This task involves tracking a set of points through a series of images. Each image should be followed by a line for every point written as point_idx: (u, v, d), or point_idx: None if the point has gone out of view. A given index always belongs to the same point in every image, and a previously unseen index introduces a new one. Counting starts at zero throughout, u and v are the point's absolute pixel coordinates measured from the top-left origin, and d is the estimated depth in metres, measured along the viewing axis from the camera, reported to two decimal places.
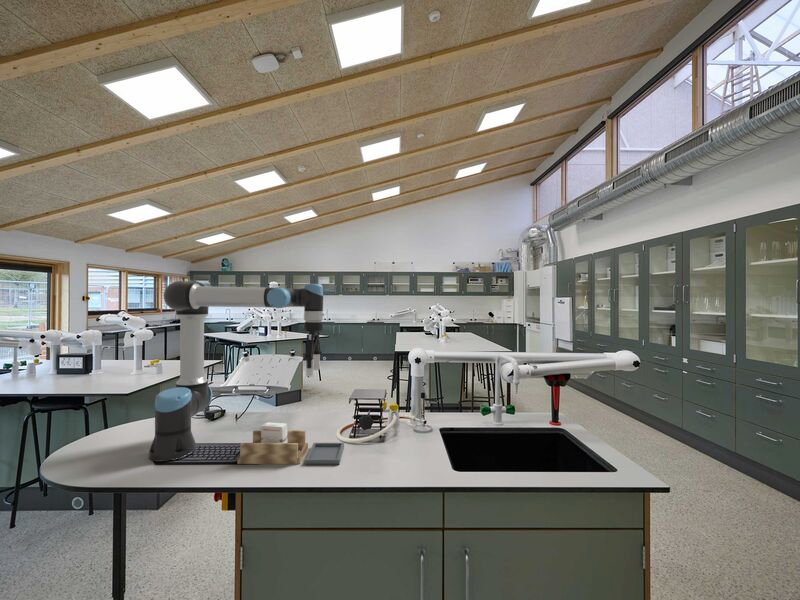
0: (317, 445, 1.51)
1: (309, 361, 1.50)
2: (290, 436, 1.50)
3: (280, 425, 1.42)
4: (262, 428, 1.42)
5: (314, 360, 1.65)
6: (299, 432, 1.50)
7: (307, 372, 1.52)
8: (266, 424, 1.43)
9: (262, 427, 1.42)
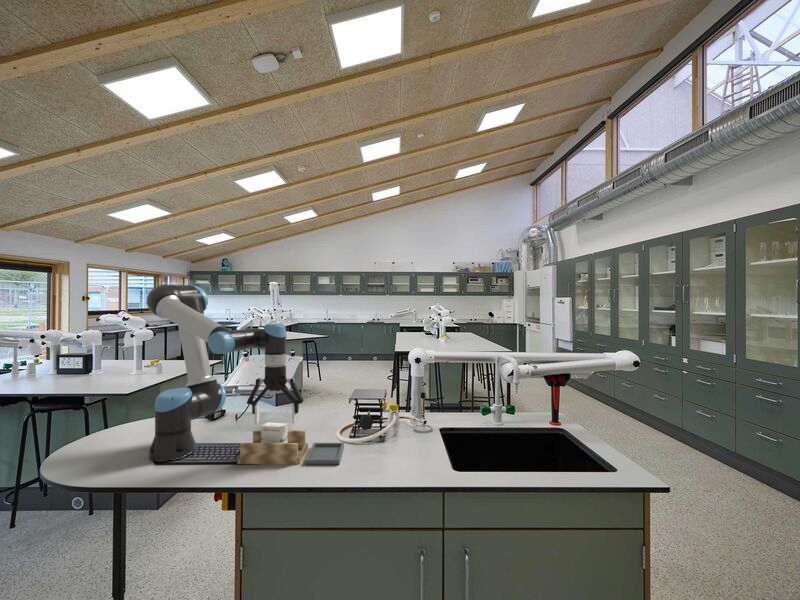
0: (317, 445, 1.51)
1: None
2: (290, 436, 1.50)
3: (280, 425, 1.42)
4: (262, 428, 1.42)
5: None
6: (299, 432, 1.50)
7: None
8: (266, 424, 1.43)
9: (262, 427, 1.42)
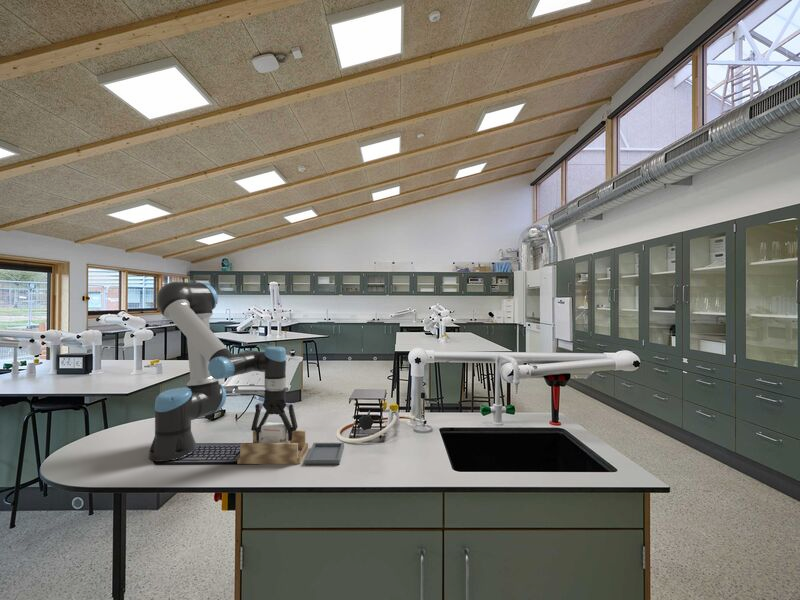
0: (317, 445, 1.51)
1: None
2: None
3: (280, 425, 1.42)
4: (262, 428, 1.42)
5: None
6: (299, 432, 1.50)
7: None
8: (266, 424, 1.43)
9: (262, 427, 1.42)
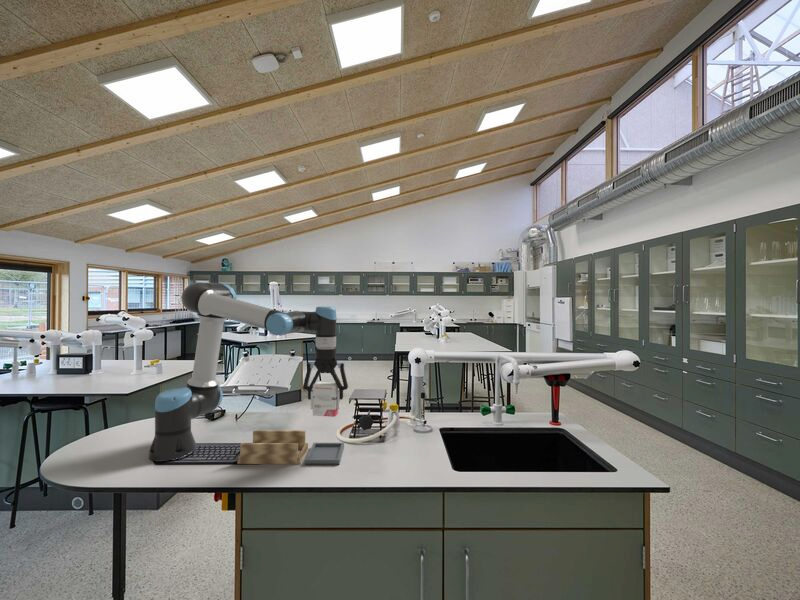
0: (317, 445, 1.51)
1: None
2: (290, 436, 1.50)
3: (332, 383, 1.43)
4: (314, 386, 1.42)
5: None
6: (299, 432, 1.50)
7: None
8: (317, 383, 1.44)
9: (314, 385, 1.42)
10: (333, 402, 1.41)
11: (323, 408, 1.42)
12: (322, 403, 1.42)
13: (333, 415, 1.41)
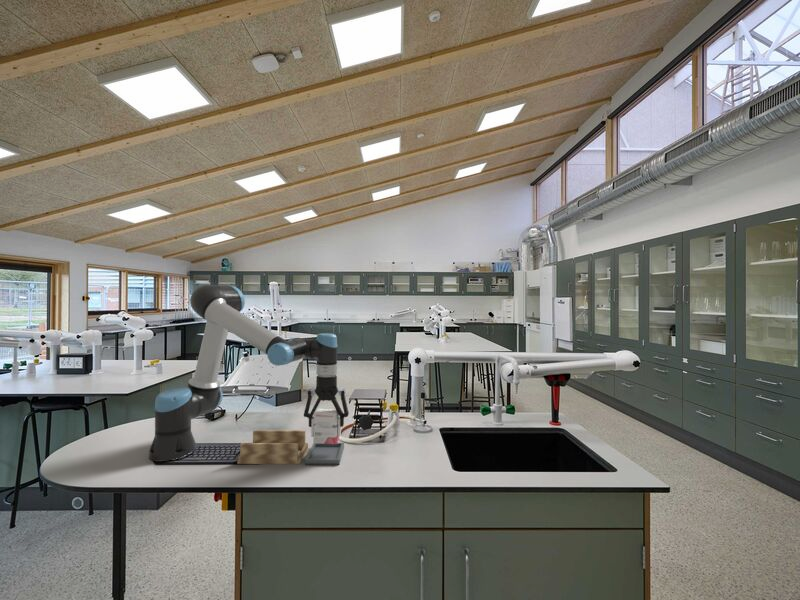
0: (317, 445, 1.51)
1: None
2: (290, 436, 1.50)
3: (332, 411, 1.43)
4: (315, 414, 1.42)
5: None
6: (299, 432, 1.50)
7: None
8: (318, 410, 1.44)
9: (315, 413, 1.42)
10: (334, 430, 1.41)
11: (324, 436, 1.42)
12: (323, 430, 1.42)
13: (334, 443, 1.41)
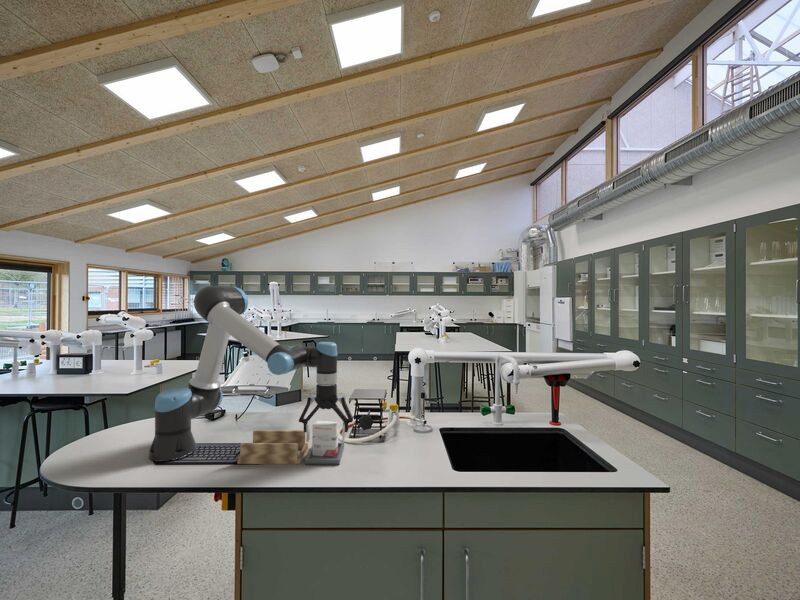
0: None
1: None
2: (290, 436, 1.50)
3: (331, 423, 1.43)
4: (314, 426, 1.42)
5: None
6: (299, 432, 1.50)
7: None
8: (317, 422, 1.44)
9: (314, 425, 1.42)
10: (333, 442, 1.41)
11: (323, 449, 1.42)
12: (322, 443, 1.42)
13: (333, 455, 1.42)
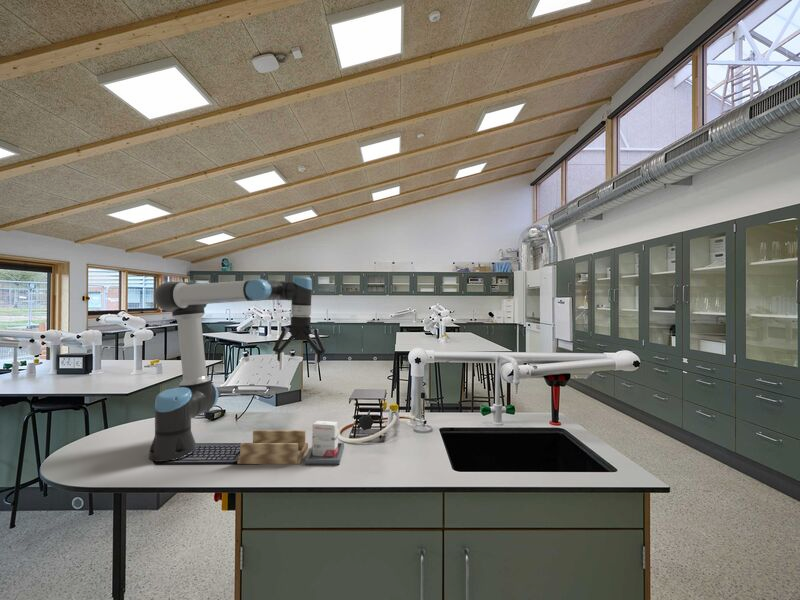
0: None
1: None
2: (290, 436, 1.50)
3: (331, 423, 1.43)
4: (314, 426, 1.42)
5: None
6: (299, 432, 1.50)
7: None
8: (317, 422, 1.44)
9: (314, 425, 1.42)
10: (333, 442, 1.41)
11: (323, 449, 1.42)
12: (322, 443, 1.42)
13: (333, 455, 1.42)
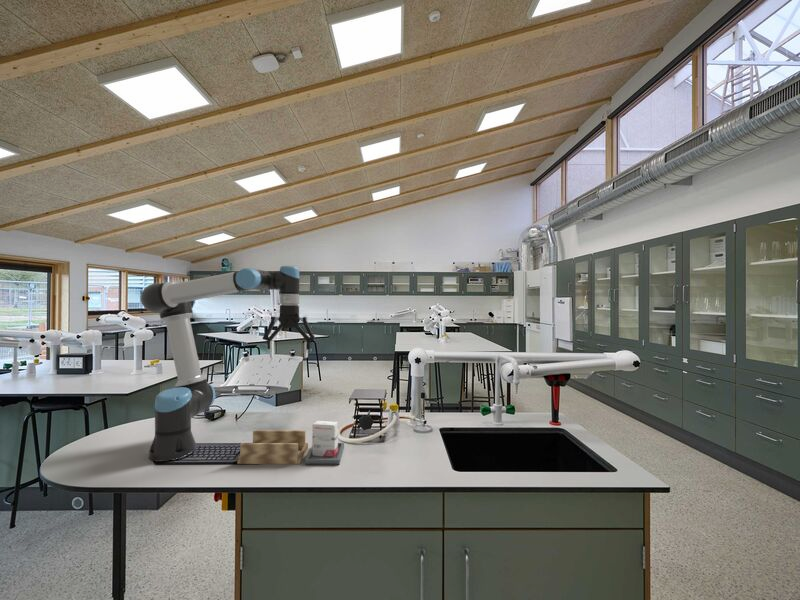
0: None
1: None
2: (290, 436, 1.50)
3: (331, 423, 1.43)
4: (314, 426, 1.42)
5: None
6: (299, 432, 1.50)
7: None
8: (317, 422, 1.44)
9: (314, 425, 1.42)
10: (333, 442, 1.41)
11: (323, 449, 1.42)
12: (322, 443, 1.42)
13: (333, 455, 1.42)
